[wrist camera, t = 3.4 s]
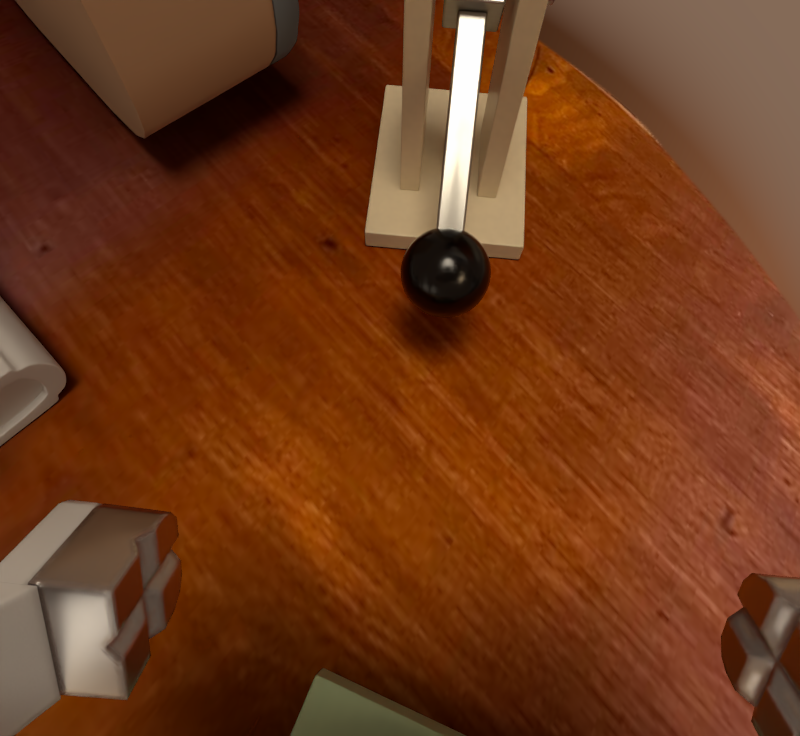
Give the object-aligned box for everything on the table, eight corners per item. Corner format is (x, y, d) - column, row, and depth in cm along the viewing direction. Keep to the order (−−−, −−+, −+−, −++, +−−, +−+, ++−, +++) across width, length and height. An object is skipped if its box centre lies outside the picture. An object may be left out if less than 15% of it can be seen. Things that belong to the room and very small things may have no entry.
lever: (480, 319, 25) (490, 324, 22) (398, 311, 25) (394, 315, 22) (520, -34, 23) (538, -92, 20) (431, -42, 23) (432, -100, 20)
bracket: (519, 260, 30) (604, 37, 18) (365, 245, 30) (349, 15, 18) (523, 112, 34) (595, -153, 22) (386, 101, 34) (383, -169, 22)
